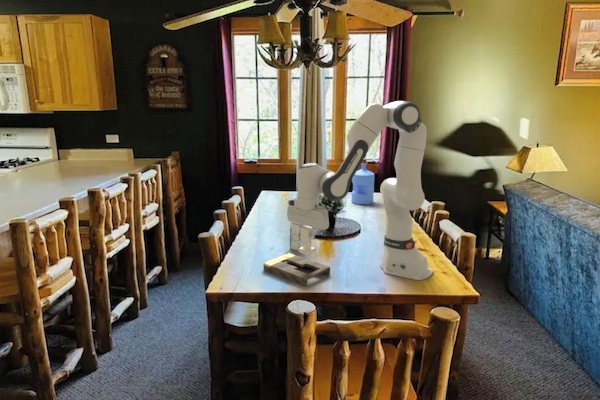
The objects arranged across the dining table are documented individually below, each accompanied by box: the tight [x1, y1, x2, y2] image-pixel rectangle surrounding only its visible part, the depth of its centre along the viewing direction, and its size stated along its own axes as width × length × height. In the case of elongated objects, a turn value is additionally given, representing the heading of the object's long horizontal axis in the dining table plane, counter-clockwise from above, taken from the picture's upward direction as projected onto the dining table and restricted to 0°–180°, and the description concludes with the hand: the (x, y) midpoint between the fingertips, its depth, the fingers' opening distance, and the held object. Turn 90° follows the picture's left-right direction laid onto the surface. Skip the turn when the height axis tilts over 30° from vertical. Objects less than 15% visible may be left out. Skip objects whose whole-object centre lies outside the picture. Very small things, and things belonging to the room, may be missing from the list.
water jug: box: [350, 162, 375, 206], centre depth 296 cm, size 16×16×28 cm
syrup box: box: [289, 221, 306, 252], centre depth 206 cm, size 6×6×14 cm
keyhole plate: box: [262, 252, 331, 287], centre depth 179 cm, size 24×16×3 cm, turn 48°
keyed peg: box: [298, 226, 317, 256], centre depth 174 cm, size 5×5×11 cm
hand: (307, 235), depth 174 cm, fingers closed on keyed peg, 4 cm apart
